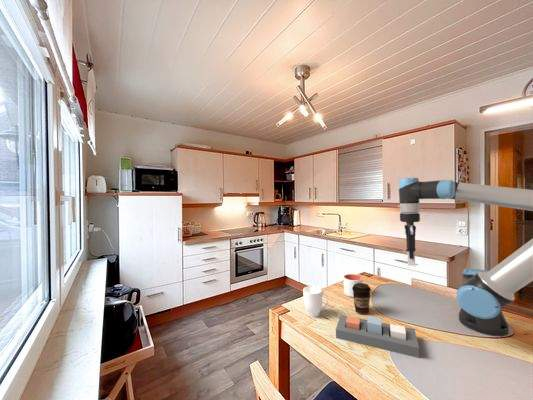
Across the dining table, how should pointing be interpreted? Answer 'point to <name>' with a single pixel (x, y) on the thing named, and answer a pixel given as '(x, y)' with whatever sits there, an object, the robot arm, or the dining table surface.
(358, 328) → the key rust
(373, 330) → the key slate
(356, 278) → the cup
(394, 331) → the key white
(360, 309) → the coffee cup
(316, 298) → the mug
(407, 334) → the key panel
